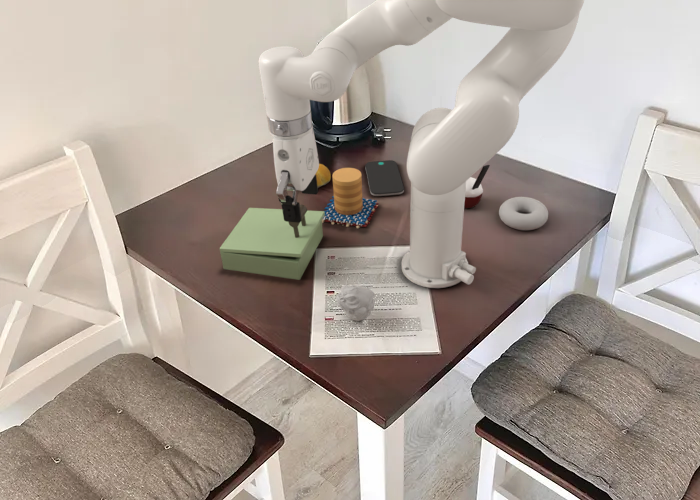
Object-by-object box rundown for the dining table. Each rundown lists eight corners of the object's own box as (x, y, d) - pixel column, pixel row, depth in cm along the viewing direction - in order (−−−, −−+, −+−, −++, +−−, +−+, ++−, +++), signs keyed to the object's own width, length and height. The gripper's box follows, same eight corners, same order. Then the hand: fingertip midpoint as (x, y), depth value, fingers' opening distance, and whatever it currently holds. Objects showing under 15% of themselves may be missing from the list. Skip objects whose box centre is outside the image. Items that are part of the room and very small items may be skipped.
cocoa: (448, 195, 147) (451, 146, 140) (476, 192, 147) (480, 144, 140) (458, 218, 139) (461, 168, 132) (487, 215, 139) (492, 165, 132)
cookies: (365, 201, 142) (364, 168, 137) (358, 216, 137) (357, 183, 133) (339, 198, 144) (337, 166, 139) (331, 213, 139) (328, 180, 134)
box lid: (325, 214, 131) (321, 191, 128) (301, 257, 120) (296, 233, 117) (249, 210, 136) (244, 188, 133) (220, 251, 125) (213, 228, 122)
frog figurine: (331, 313, 116) (328, 282, 112) (366, 301, 119) (365, 270, 114) (345, 334, 112) (343, 303, 108) (382, 321, 114) (381, 290, 110)
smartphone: (396, 159, 159) (405, 191, 147) (395, 162, 159) (405, 194, 147) (364, 161, 159) (371, 194, 146) (364, 165, 159) (371, 197, 147)
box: (323, 239, 135) (321, 219, 132) (300, 283, 124) (297, 262, 121) (252, 230, 139) (249, 211, 136) (223, 272, 127) (220, 252, 125)
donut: (531, 239, 132) (556, 217, 138) (533, 225, 130) (558, 203, 135) (488, 222, 138) (514, 201, 143) (490, 208, 136) (516, 188, 141)
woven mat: (366, 232, 136) (365, 224, 135) (318, 225, 139) (317, 217, 138) (380, 206, 144) (380, 198, 143) (334, 200, 147) (334, 192, 146)
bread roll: (337, 179, 154) (336, 164, 152) (310, 195, 149) (308, 179, 147) (313, 168, 159) (311, 153, 157) (285, 183, 154) (283, 168, 152)
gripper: (293, 146, 105) (306, 234, 115) (325, 102, 118) (334, 184, 128) (250, 143, 107) (266, 231, 117) (286, 100, 120) (298, 182, 130)
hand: (301, 206), depth 122 cm, fingers open, 9 cm apart
